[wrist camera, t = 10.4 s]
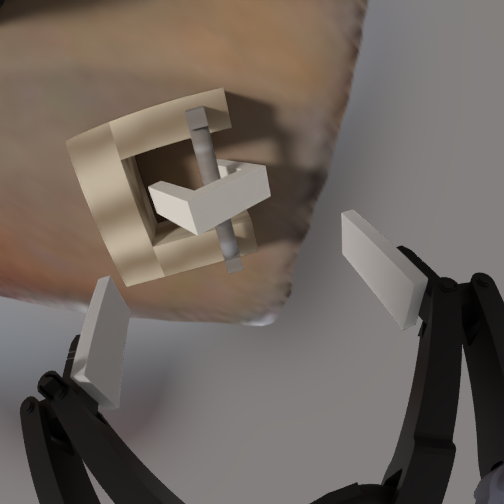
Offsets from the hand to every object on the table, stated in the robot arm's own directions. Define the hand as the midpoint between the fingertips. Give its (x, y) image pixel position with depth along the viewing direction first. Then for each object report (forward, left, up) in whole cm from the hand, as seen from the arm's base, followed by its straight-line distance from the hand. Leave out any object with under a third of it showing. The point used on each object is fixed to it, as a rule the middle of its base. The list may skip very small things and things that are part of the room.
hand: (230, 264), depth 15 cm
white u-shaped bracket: (0, -3, -17) cm, 17 cm away
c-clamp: (0, -5, -21) cm, 21 cm away
